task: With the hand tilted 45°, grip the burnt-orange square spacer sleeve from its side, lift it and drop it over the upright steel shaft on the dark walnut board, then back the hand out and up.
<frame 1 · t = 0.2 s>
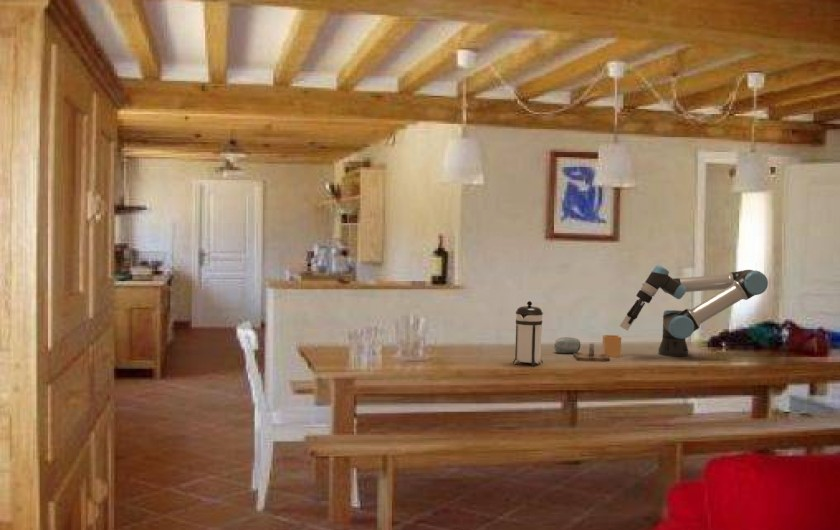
hand: (623, 328, 457), 14 cm above the table, fingers open, 13 cm apart
shaft stand: (591, 358, 448), on the table
grey green rounded lump: (567, 353, 465), on the table
coffee press: (528, 364, 428), on the table
spacer sleeve: (611, 355, 460), on the table
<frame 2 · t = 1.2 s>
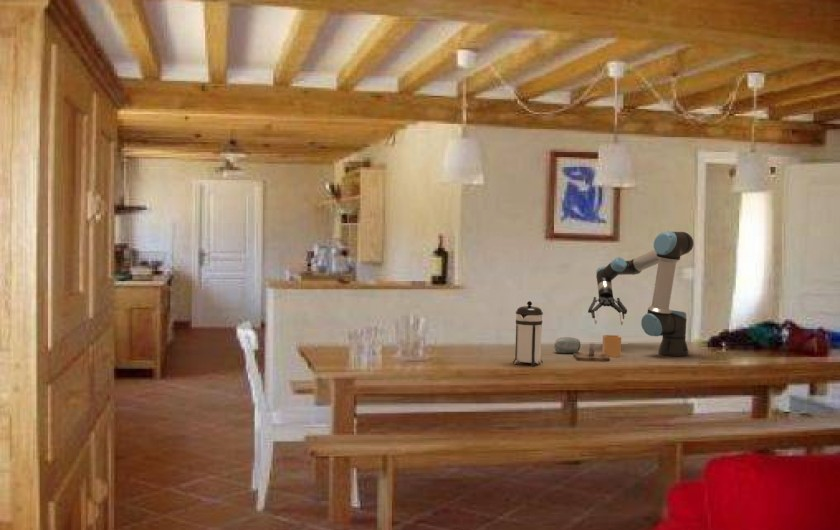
hand: (608, 322, 470), 16 cm above the table, fingers open, 13 cm apart
nothing on the table moved.
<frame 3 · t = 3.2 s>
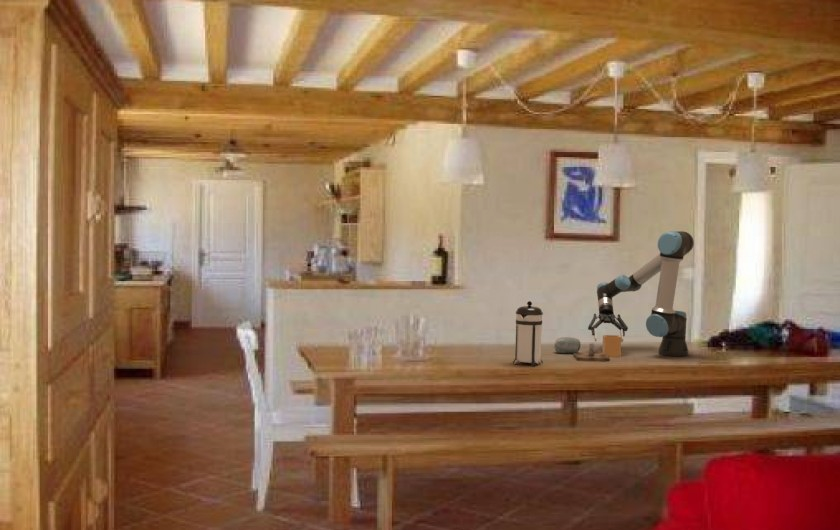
hand: (609, 340, 462), 7 cm above the table, fingers open, 13 cm apart
nothing on the table moved.
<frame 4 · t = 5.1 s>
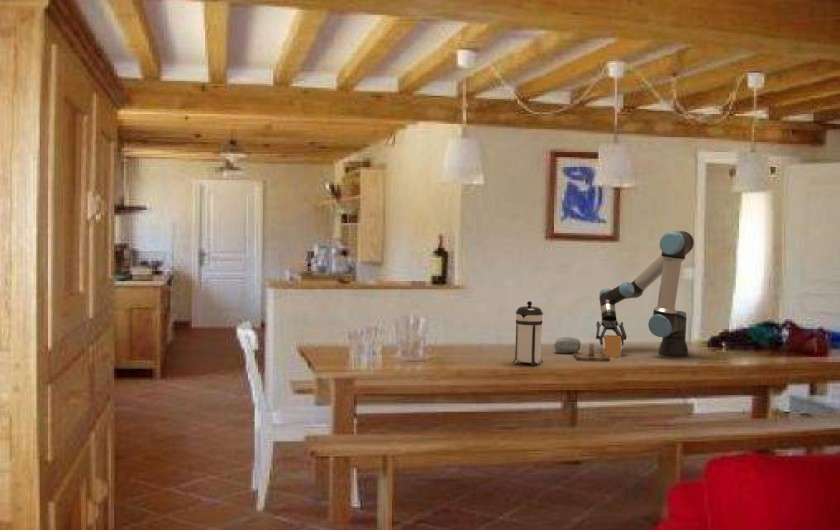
hand: (612, 349, 456), 4 cm above the table, fingers closed on spacer sleeve, 8 cm apart
spacer sleeve: (611, 355, 460), on the table, touching gripper
everything else where it was.
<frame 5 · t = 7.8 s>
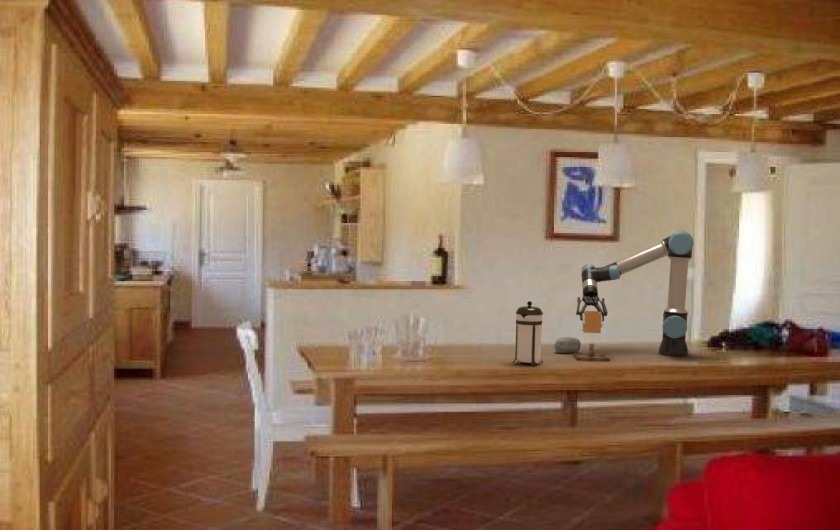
hand: (592, 325, 445), 17 cm above the table, fingers closed on spacer sleeve, 8 cm apart
spacer sleeve: (591, 331, 448), point 13 cm above the table, touching gripper
everything else where it was.
when the fingers open (7 cm above the table, at t = 10.7 s): spacer sleeve drops 1 cm, resting on shaft stand.
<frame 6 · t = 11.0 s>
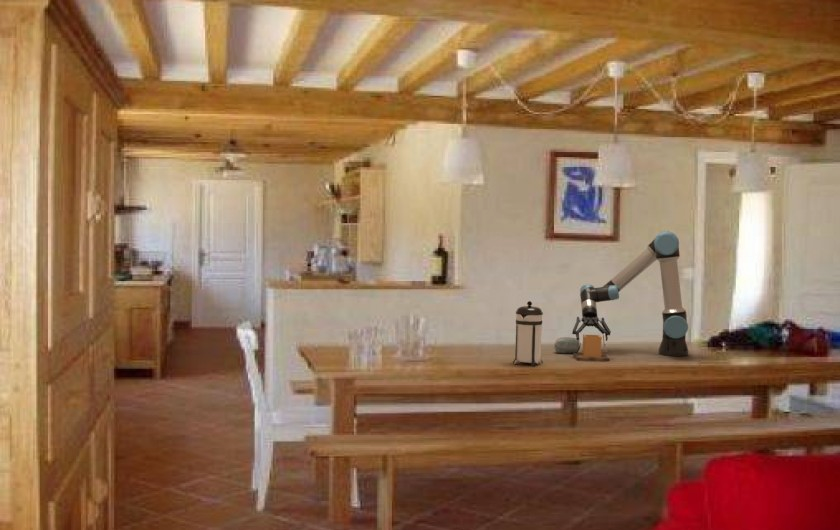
hand: (592, 345, 445), 7 cm above the table, fingers open, 11 cm apart
spacer sleeve: (591, 355, 448), point 1 cm above the table, touching shaft stand
everything else where it was.
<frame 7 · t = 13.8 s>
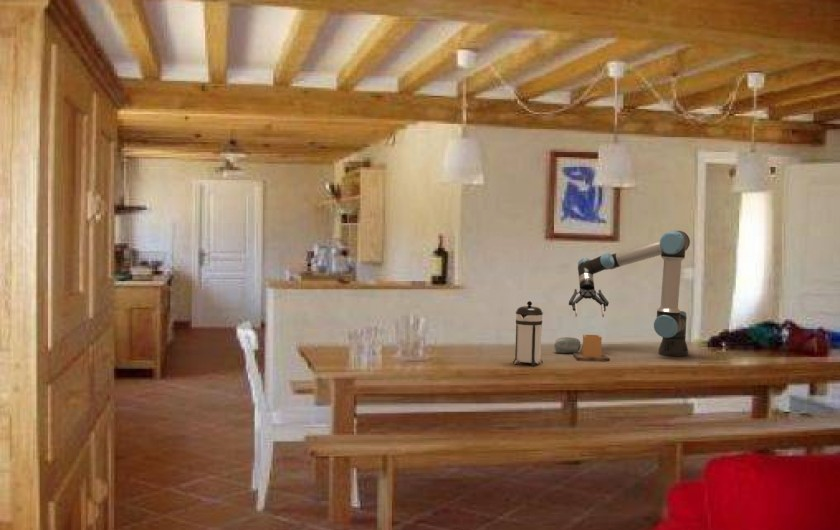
hand: (589, 315, 457), 21 cm above the table, fingers open, 13 cm apart
nothing on the table moved.
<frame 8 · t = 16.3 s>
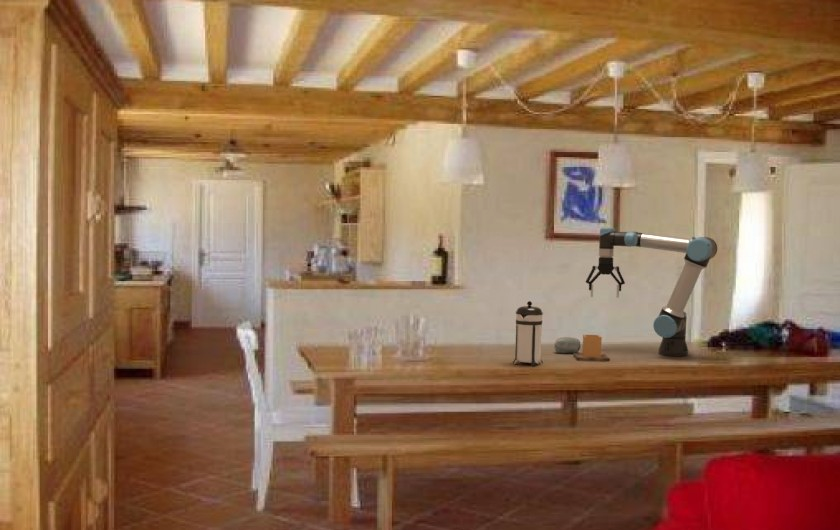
hand: (604, 297, 474), 29 cm above the table, fingers open, 13 cm apart
nothing on the table moved.
at the end: spacer sleeve 0.1 cm off-centre on the shaft stand, point 1.5 cm above the shaft stand's base; spacer sleeve tilted 0°; the gripper is holding nothing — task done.
